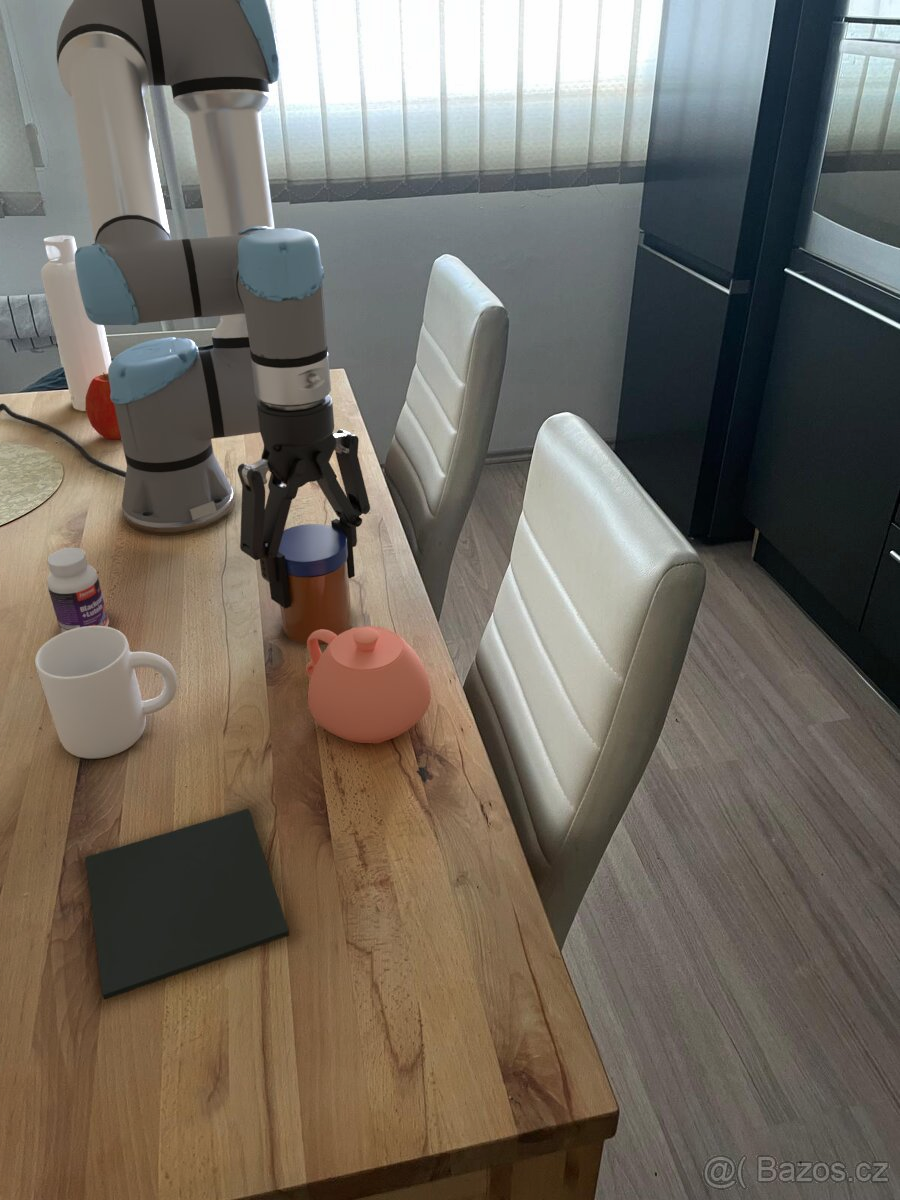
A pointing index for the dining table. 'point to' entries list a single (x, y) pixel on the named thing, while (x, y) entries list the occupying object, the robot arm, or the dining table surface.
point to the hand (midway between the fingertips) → (313, 587)
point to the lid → (313, 549)
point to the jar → (317, 605)
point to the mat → (181, 902)
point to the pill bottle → (75, 590)
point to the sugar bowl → (366, 684)
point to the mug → (98, 690)
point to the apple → (102, 408)
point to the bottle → (73, 321)
